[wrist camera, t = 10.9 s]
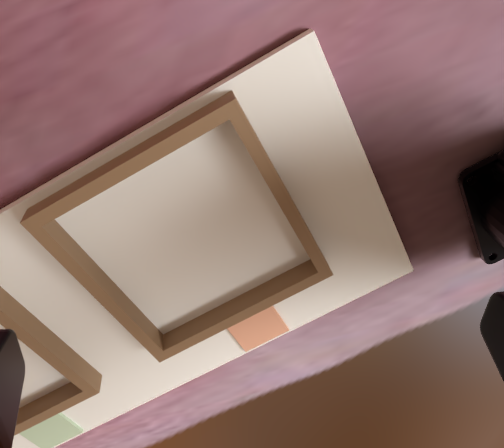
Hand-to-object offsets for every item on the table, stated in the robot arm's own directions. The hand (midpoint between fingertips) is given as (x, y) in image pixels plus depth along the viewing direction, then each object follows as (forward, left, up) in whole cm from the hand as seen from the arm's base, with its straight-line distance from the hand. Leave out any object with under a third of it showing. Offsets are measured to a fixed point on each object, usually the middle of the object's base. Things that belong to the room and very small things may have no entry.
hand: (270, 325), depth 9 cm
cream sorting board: (-6, +10, -13) cm, 17 cm away
